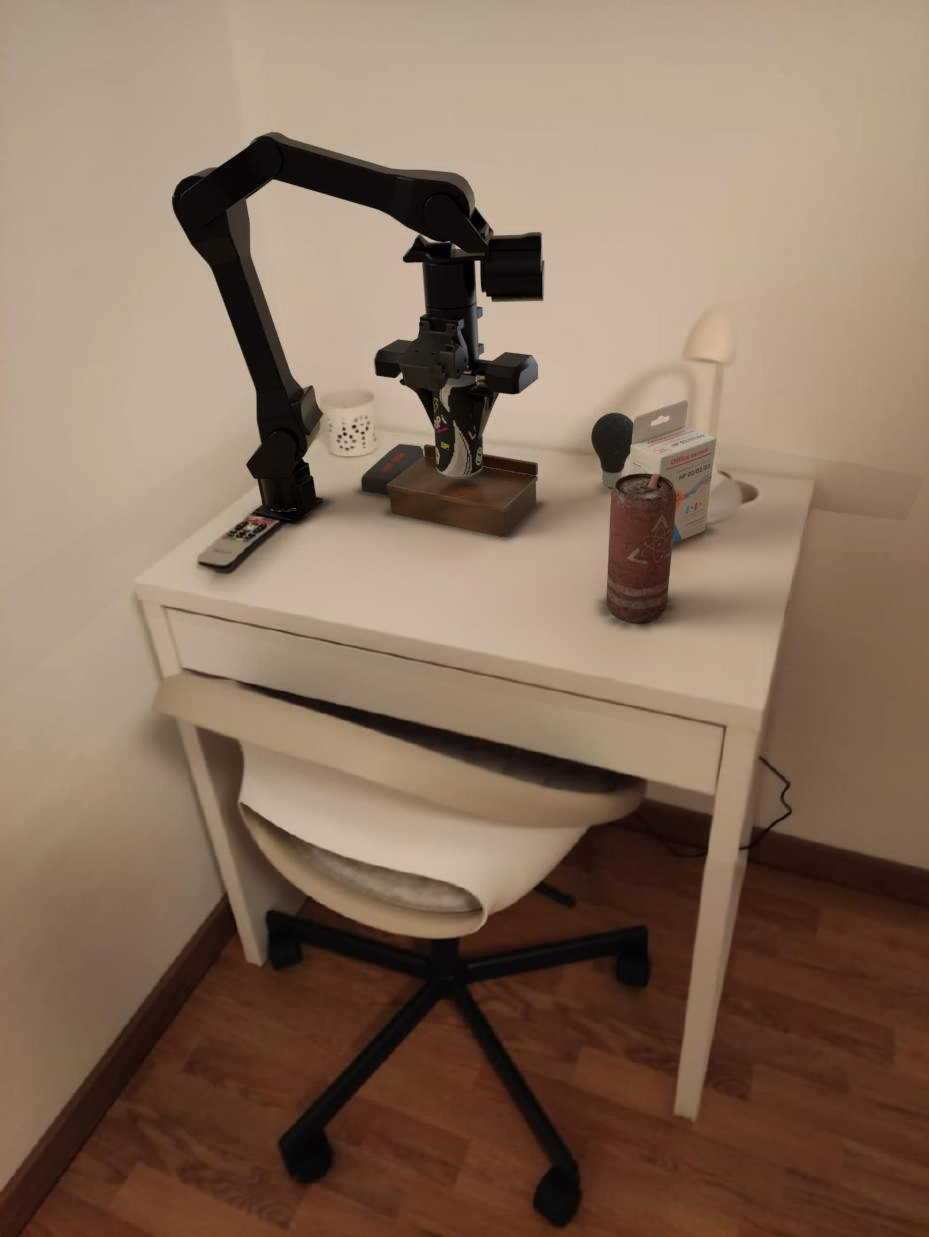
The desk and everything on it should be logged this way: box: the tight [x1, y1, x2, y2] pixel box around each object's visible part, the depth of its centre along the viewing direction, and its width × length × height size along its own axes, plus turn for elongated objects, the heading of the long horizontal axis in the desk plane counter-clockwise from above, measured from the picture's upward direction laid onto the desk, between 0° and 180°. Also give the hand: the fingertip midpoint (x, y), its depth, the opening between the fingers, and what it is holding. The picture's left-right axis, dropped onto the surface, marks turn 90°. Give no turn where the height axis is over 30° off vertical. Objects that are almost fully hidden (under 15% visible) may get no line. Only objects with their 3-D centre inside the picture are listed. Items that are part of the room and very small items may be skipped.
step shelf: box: [386, 443, 539, 538], centre depth 110 cm, size 16×10×6 cm, turn 62°
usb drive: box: [360, 442, 425, 496], centre depth 120 cm, size 5×12×3 cm, turn 158°
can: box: [605, 473, 677, 624], centre depth 87 cm, size 6×6×14 cm
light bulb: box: [590, 412, 634, 490], centre depth 111 cm, size 6×6×10 cm
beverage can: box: [433, 375, 484, 479], centre depth 105 cm, size 6×6×12 cm
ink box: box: [628, 399, 717, 544], centre depth 99 cm, size 8×5×15 cm, turn 123°
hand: (458, 436), depth 105 cm, fingers closed on beverage can, 5 cm apart
